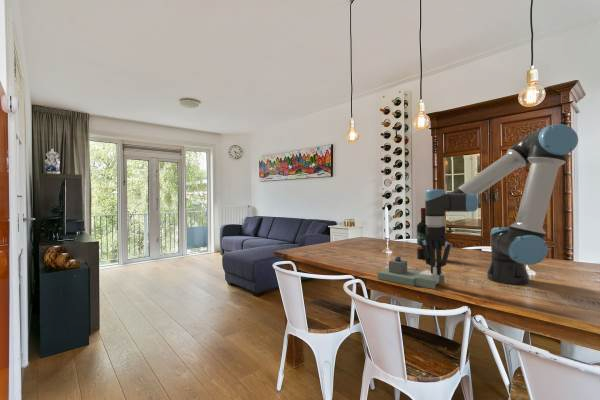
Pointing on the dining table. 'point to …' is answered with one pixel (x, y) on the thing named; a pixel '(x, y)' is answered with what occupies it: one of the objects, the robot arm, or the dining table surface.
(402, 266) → the stepped grey base
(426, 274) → the pale grey block
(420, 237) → the wine bottle
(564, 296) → the dining table surface
